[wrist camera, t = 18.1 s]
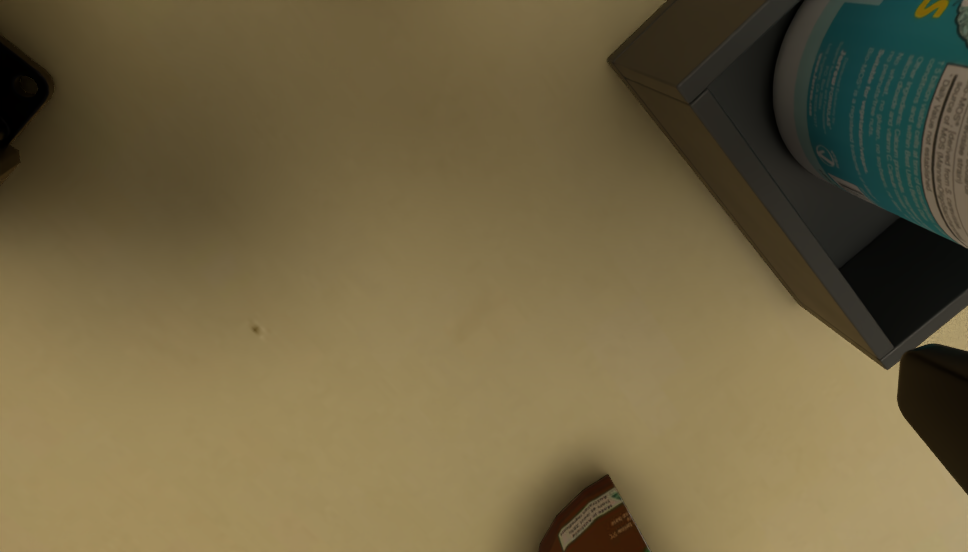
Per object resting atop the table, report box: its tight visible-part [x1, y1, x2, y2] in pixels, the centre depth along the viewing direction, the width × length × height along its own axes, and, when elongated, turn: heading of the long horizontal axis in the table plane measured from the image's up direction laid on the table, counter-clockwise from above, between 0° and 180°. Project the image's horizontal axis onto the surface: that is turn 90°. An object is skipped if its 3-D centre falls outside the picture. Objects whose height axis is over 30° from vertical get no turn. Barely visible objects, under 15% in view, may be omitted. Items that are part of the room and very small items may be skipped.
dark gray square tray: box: [607, 0, 968, 370], centre depth 20 cm, size 12×12×4 cm
